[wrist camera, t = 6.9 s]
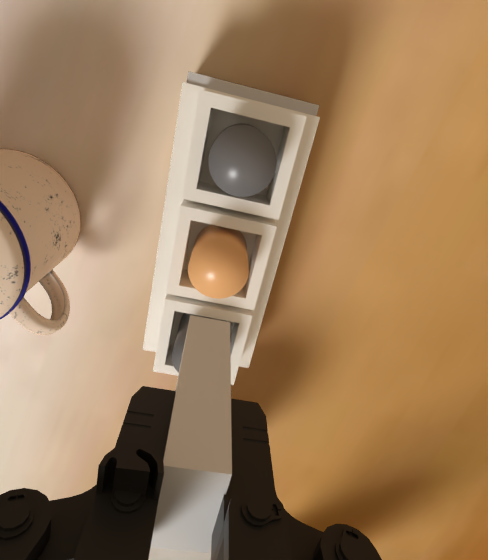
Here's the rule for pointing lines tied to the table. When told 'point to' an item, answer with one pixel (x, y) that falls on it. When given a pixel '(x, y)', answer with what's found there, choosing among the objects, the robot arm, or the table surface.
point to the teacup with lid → (34, 238)
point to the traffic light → (225, 211)
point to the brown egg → (219, 262)
